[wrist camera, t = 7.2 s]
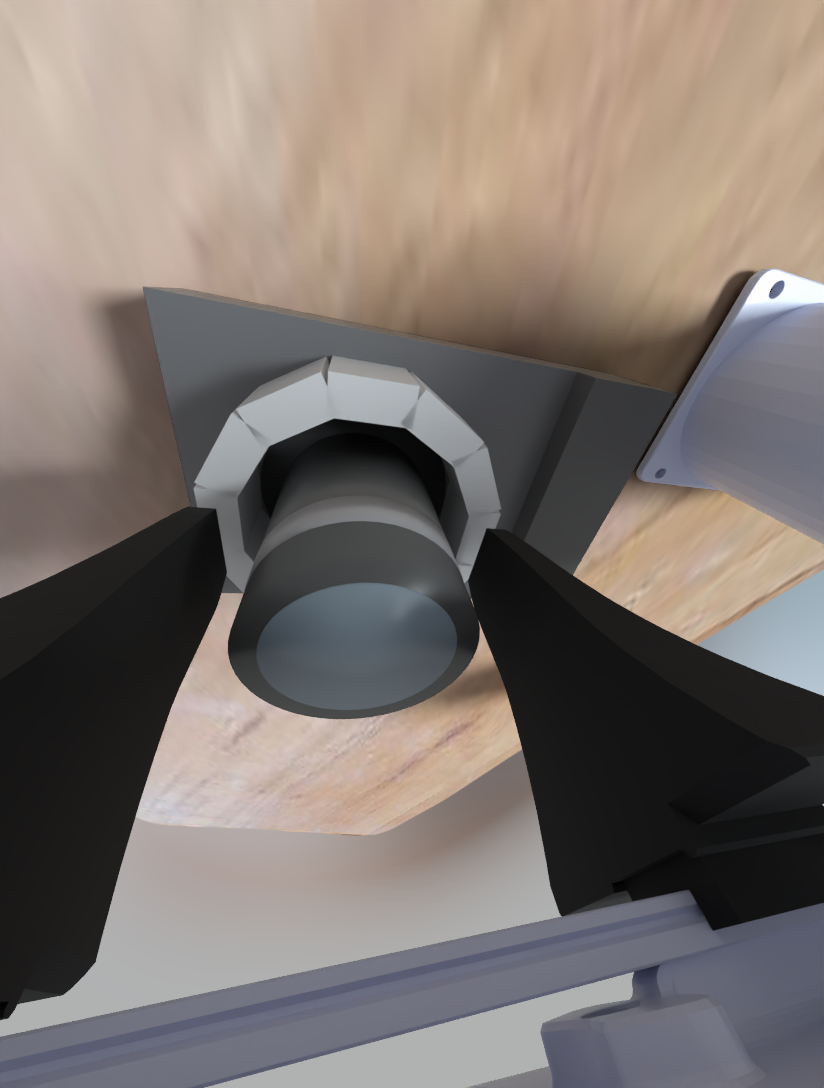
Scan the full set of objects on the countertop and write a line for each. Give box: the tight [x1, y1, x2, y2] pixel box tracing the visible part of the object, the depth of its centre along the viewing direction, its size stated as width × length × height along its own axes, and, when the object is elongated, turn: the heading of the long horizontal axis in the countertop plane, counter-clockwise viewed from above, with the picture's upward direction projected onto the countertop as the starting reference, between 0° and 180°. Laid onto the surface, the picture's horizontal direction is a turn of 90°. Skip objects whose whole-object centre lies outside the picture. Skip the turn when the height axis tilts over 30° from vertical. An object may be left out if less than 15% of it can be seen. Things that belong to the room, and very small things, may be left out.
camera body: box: [143, 287, 677, 598], centre depth 13 cm, size 15×10×5 cm, turn 80°
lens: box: [228, 433, 480, 719], centre depth 10 cm, size 5×5×7 cm
